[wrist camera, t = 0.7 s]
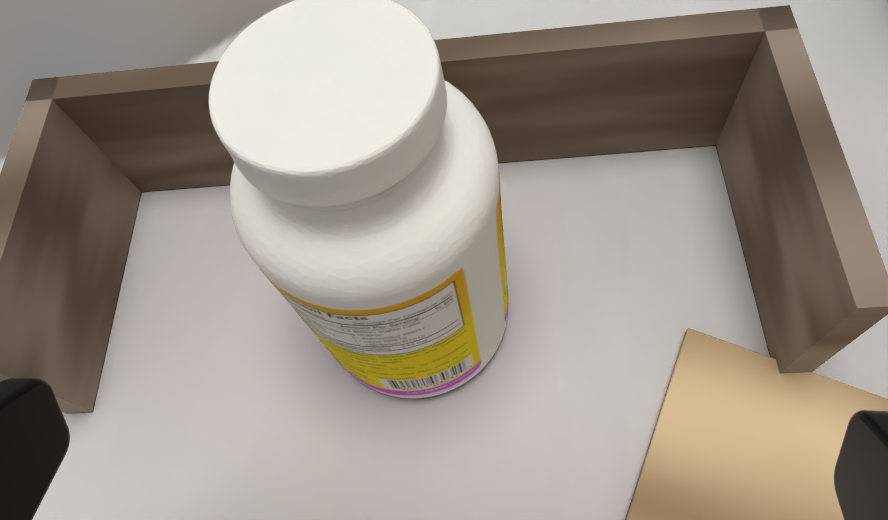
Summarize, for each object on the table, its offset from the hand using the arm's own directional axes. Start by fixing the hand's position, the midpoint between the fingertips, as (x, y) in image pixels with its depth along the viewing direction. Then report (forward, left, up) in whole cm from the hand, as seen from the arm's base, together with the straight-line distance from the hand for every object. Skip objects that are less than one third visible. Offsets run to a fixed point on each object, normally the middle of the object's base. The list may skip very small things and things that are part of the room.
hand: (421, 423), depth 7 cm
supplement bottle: (+6, +5, -15) cm, 17 cm away
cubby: (+8, +6, -15) cm, 18 cm away
